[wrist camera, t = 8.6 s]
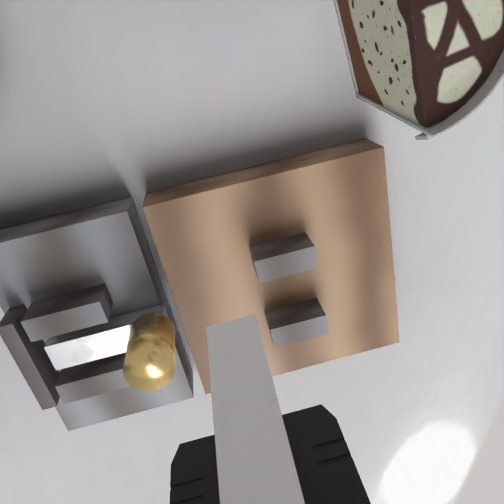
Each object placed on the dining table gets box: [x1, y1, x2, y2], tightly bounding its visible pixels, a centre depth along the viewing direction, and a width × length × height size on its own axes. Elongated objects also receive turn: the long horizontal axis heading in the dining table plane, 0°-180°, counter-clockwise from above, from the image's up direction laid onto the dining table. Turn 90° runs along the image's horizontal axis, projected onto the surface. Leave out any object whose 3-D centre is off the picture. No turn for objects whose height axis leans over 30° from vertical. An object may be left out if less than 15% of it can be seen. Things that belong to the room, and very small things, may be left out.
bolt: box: [44, 304, 175, 391], centre depth 29 cm, size 8×3×6 cm, turn 102°
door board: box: [0, 139, 399, 431], centre depth 32 cm, size 27×16×5 cm, turn 102°
